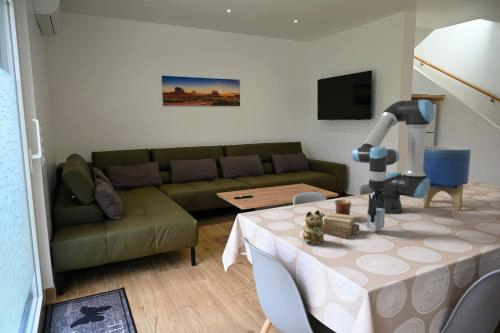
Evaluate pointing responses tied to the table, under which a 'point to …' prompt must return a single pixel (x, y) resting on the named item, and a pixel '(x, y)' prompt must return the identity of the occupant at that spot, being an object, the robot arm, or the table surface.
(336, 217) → the slab upper
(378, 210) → the block
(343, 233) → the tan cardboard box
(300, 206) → the table surface
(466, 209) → the table surface
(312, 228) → the decorative figurine
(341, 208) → the mug
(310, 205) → the table surface
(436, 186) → the planter
